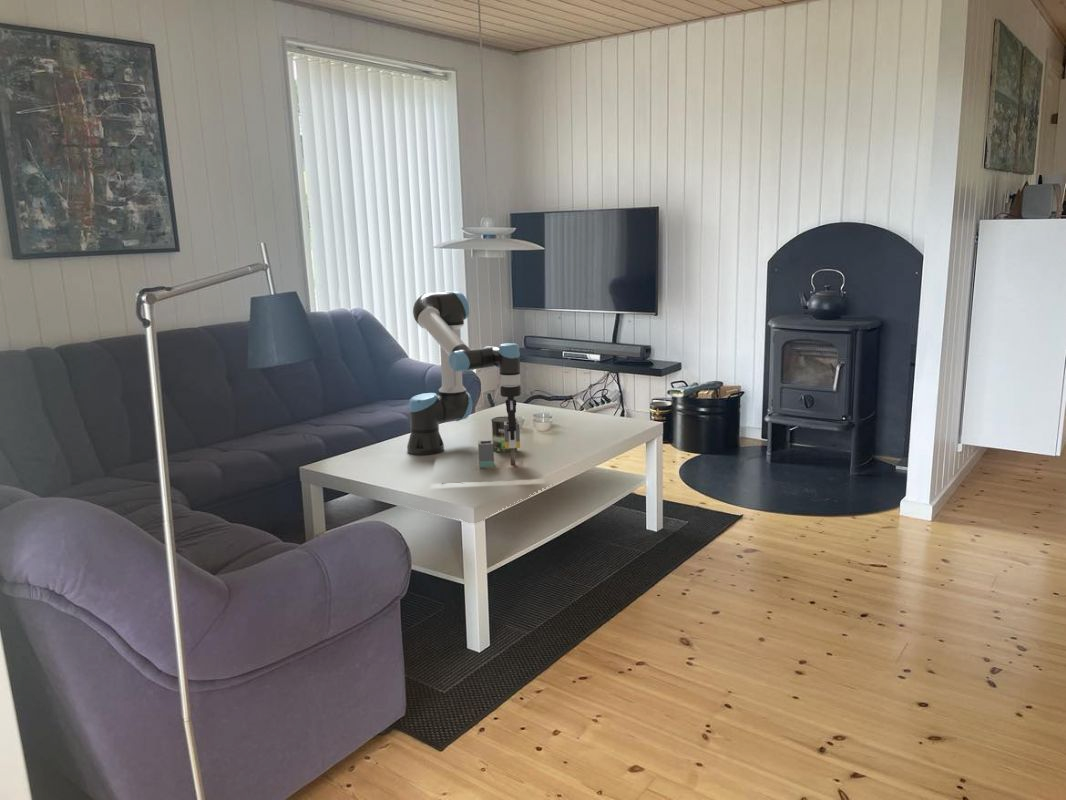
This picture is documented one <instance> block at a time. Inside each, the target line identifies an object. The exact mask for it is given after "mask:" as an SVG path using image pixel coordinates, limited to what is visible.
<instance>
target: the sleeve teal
mask: <svg viewBox="0 0 1066 800" xmlns="http://www.w3.org/2000/svg"><path fill="white" fill-rule="evenodd" d="M477 442H478V444H477V447H478V462H479V468H487V467H494V462H495V452H494V448H493V440H492V439H490V440H478V441H477Z"/></svg>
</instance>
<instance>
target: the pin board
mask: <svg viewBox="0 0 1066 800" xmlns="http://www.w3.org/2000/svg"><path fill="white" fill-rule="evenodd" d="M509 456H510V460H501V461H500V460H499V461H494V467H487V468H479V461H478V462H475V470H478V471H479V470H480V471H481V470H498V469H499V470H501V469H504V470H505V469H520V468H521V469H523V468H524V469H525V463H524V460H523V459H522V460H516V451H515V448H510V452H509Z"/></svg>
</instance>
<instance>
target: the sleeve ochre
mask: <svg viewBox="0 0 1066 800" xmlns="http://www.w3.org/2000/svg"><path fill="white" fill-rule="evenodd" d="M515 425H516V448H517V449H521V436H520V435H521V434H520V422H519V421H518V420H517V421H515ZM507 430H509V422H504V438H505V449H506V448H509V432H508V431H507Z"/></svg>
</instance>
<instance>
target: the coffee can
mask: <svg viewBox="0 0 1066 800" xmlns="http://www.w3.org/2000/svg"><path fill="white" fill-rule="evenodd" d="M490 420H491V433H492V435H491V436H492V437H491V438H492V439H491V440H493V448H494V453H510V448H506V449H505V438H504V422H508V416H496V417H493V418H491V419H490ZM515 421H518V420H517V417H515ZM517 451H518V448H515V452H517Z"/></svg>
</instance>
